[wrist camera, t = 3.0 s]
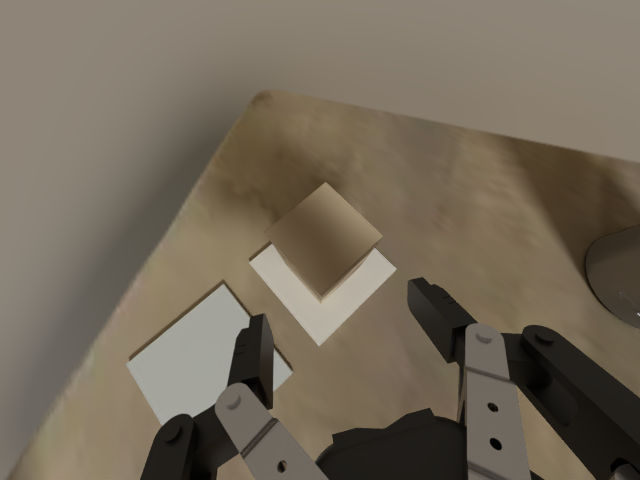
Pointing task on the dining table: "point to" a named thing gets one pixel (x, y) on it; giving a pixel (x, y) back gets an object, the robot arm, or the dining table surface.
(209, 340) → the rest pad
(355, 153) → the dining table surface
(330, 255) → the beech block
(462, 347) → the robot arm
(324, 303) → the tile
